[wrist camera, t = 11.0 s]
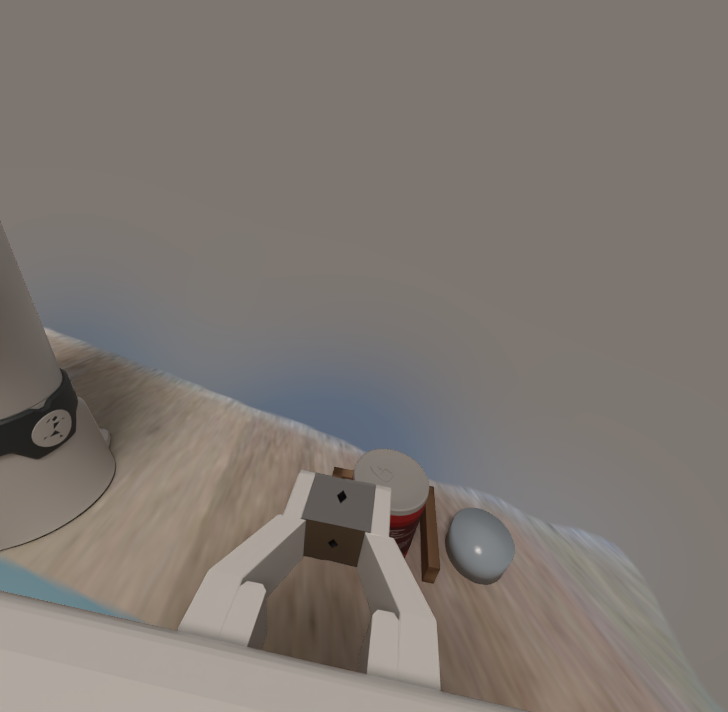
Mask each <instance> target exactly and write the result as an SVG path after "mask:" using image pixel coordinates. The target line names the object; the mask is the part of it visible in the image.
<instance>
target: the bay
mask: <svg viewBox="0 0 728 712" xmlns="http://www.w3.org/2000/svg"><path fill="white" fill-rule="evenodd" d="M353 472H354V471H353V470H348V469H343V468H338V467H334V471H333V475H332V476H333V477H338V478H342V479H350V480H352V477H353ZM420 530H421V561H422V581H423V582H428V583H434V581H435V579H436V577H437V575H438V572H439V570H440V560H439V548H438V535H437V523H436V511H435V498H434V487H432V486H429V493H428V498H427V501H426V504H425V507H424V510H423V512H422V515H421V517H420ZM317 559H318V558H317ZM321 560H323V559H321Z"/></svg>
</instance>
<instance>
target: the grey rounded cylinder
mask: <svg viewBox="0 0 728 712" xmlns="http://www.w3.org/2000/svg"><path fill="white" fill-rule="evenodd" d="M445 547H446V552H447V555H448V557H449V559H450V561H451V563H452V564H453V566H454V567H455V568H456V570H457V571H458V572H459V573H460V574H462V575H463V576H464V577H465V578H467V579H469V580H470V581H472V582H475V583H478V584H483V585H488V584H492V583H495V582H497V581H498V580H499V579H500V578H501V576H502V575H503V573H504V572H505V570H506V569H507V567H508V566H509V564H510V563H511V561H512V560H513V558H514V554H515V546H514V542H513V539H512V537H511V534H510V533H509V531H508V530H507V528H506V527H505V526H504V524H503V523H502V522H501V521H500V520H499V519H497V518H496V517H495V516H493V515H492V514H490V513H489V512H486V511H484V510H482V509H478V508H466V509H463V510H461V511H459V512H458V513H457V514H456V516H455V517H454V520H453V522H452V524H451V526H450V528H449V531H448V533H447V535H446V539H445Z"/></svg>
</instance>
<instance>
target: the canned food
mask: <svg viewBox="0 0 728 712" xmlns="http://www.w3.org/2000/svg"><path fill="white" fill-rule="evenodd" d="M352 480H355V481H361V482H366V483H371V484H375V485H380V486H385V487H390V488H391V491H392V492H391V511H390V529H389V537H391V538H394V540H395V542H396V544H397V545H398V547H399V549H400V551H401V553H402V555H403V557H404V558H405V556H406V554H407V552H408V549H409V546H410V544H411V541H412V538H413V536H414V533H415V531H416V528H417V525H418V523H419V520H420V517H421V515H422V512H423V510H424V507H425V504H426V501H427V498H428V493H429V481H428V478H427V476H426V474H425V472H424V470H423V469H422V467H421V466H420V465H419V464H418V463H417V462H416V461H415V460H414V459H412V458H411V457H409V456H407V455H405V454H404V453H401V452H398V451H396V450H391V449H376V450H372V451H369V452H367V453H365V454H364V455H363V456H361V457H360V459H359V460H358V461H357V463H356V466H355V469H354V472H353V477H352Z"/></svg>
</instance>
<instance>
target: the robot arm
mask: <svg viewBox="0 0 728 712" xmlns="http://www.w3.org/2000/svg"><path fill="white" fill-rule="evenodd" d="M74 390H75V388H74V385H73V383H72V381H71V380H70V379H69V377H68V375H67V373H66V372H65V371H64V370H63V369H61V368H59V366H58V363H57V361H56V358H55V356H54V353H53V351H52V348H51V346H50V343H49V341H48V338H47V336H46V333H45V331H44V328H43V326H42V323H41V321H40V318H39V316H38V313H37V311H36V308H35V306H34V303H33V301H32V298H31V296H30V294H29V291H28V289H27V286H26V284H25V281H24V279H23V277H22V274H21V271H20V269H19V267H18V264H17V262H16V259H15V257H14V255H13V252H12V249H11V247H10V244H9V242H8V239H7V237H6V234H5V232H4V229H3V227H2V224H1V222H0V550H3V549H6V548H10V547H13V546H17V545H20V544H23V543H26V542H29V541H31V540H34V539H36V538H39V537H41V536H43V535H45V534H47V533H49V532H51V531H53V530H55V529H57V528H59V527H61V526H62V525H64V524H66V523H67V522H69V521H71V520H72V519H74V518H75V517H77V516H78V515H79V514H81V513H82V512H83V511H85V510H86V509H87V508H88V507H89V506H90V505H92V504H93V503H94V502H95V501H96V500H97V499H98V498H99V497H100V496H101V494H102V493H103V492H104V491H105V489H106V488H107V487H108V485H109V483H110V482H111V480H112V477H113V475H114V471H115V461H114V458H113V456H112V454H111V452H110V450H109V445H110V441H111V435H110V434H109V432H108V430H106V429H99V427H98V425H97V423H96V421H95V419H94V418H93V416H92V414H91V412H90V410H89V408H88V407H87V405H86V403H85V401H84V400H83V399H82V398H80V397H77V396H76V393H75V391H74ZM391 492H392V491H391V488H390V487H385V486H380V485H375V484H371V483H366V482H361V481H355V480H350V479H342V478H338V477H333V476H329V475H325V474H320V473H316V472H311V471H306V470H301V471H300V473H299V475H298V477H297V480H296V482H295V485H294V488H293V490H292V493H291V495H290V498H289V501H288V503H287V506H286V508H285V511H284V514H283V515H281V514H278V515H277V516H275V517H274V518H273V519H272V520H270V521H269V522H268V523H267V524H265V525H264V526H263V527H262V528H260V529H259V530H258V531H257V532H256V533H254V534H253V535H252V536H251V537H249V538H248V539H247V540H246V541H244V542H243V543H242V544H241V545H239V546H238V547H237V548H236V549H234V550H233V551H232V552H231V553H229V554H228V555H227V556H226V557H224V558H223V559H222V560H221V561H219V562H218V563H217V564H216V565H215V566H213V567H212V568H211V569H210V570H208V572H207V574H206V576H205V578H204V580H203V582H202V584H201V586H200V587H199V589H198V591H197V593H196V595H195V597H194V599H193V601H192V603H191V605H190V606H189V608H188V610H187V612H186V614H185V616H184V618H183V620H182V622H181V623H180V625H179V627H178V629H177V631H175V630H171V629H167V628H162V627H158V626H153V625H149V624H145V623H140V622H136V621H132V620H127V619H123V618H118V617H114V616H110V615H105V614H101V613H96V612H92V611H87V610H83V609H79V608H74V607H70V606H66V605H61V604H57V603H52V602H48V601H44V600H39V599H35V598H31V597H26V596H22V595H17V594H13V593H8V592H4V591H0V712H531V711H526V710H522V709H518V708H513V707H509V706H504V705H500V704H496V703H491V702H487V701H483V700H478V699H474V698H469V697H465V696H461V695H456V694H452V693H447V692H443V691H441V686H440V670H439V655H438V639H437V623H436V619H435V617H434V615H433V613H432V612H431V610H430V608H429V606H428V604H427V602H426V600H425V598H424V596H423V594H422V592H421V590H420V588H419V586H418V584H417V582H416V580H415V578H414V577H413V575H412V573H411V571H410V569H409V567H408V565H407V563H406V561H405V559H404V557H403V555H402V553H401V551H400V549H399V547H398V545H397V544H396V542H395V540H394V538H391V537H389V529H390V511H391ZM303 556H307V557H313V558H318V559H323V560H329V561H333V562H337V563H341V564H346V565H350V566H354V567H357V571H358V574H359V577H360V580H361V583H362V586H363V589H364V593H365V596H366V599H367V602H368V605H369V608H370V611H371V614H372V618H371V621H370V624H369V627H368V630H367V633H366V636H365V639H364V642H363V645H362V648H361V651H360V654H359V663H358V671H357V672H355V671H351V670H347V669H342V668H338V667H333V666H329V665H325V664H320V663H316V662H312V661H307V660H303V659H298V658H294V657H290V656H285V655H281V654H276V653H272V652H268V651H263V650H262V648H263V645H264V641H265V638H266V635H267V608H266V598H267V597H268V596H269V595H270V594H271V593H272V592H273V591H274V589H275V588H276V587H277V586H278V585H279V584H280V583H281V582H282V581H283V579H284V578H285V577H286V576H287V575H288V574H289V573H290V572H291V571H292V569H293V568H294V567H295V566H296V565H297V564H298V563H299V562H300V560H301V559H302V558H303Z"/></svg>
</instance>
